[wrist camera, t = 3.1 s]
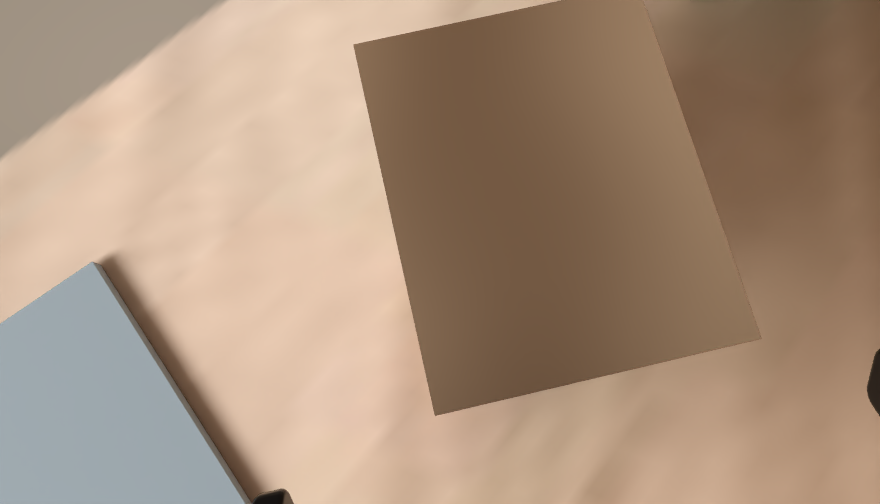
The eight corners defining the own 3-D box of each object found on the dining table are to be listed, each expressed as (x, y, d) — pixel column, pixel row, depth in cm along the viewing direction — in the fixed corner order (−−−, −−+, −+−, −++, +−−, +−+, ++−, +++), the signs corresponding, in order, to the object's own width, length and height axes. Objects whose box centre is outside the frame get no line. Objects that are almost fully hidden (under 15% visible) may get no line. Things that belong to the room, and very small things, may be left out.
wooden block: (529, 231, 21) (637, -16, 9) (571, 383, 20) (762, 338, 8) (410, 258, 21) (352, 44, 9) (444, 413, 20) (434, 415, 8)
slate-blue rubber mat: (268, 529, 19) (263, 532, 18) (-37, 763, 18) (-51, 773, 17) (100, 265, 21) (92, 261, 20) (-184, 457, 20) (-201, 458, 19)
